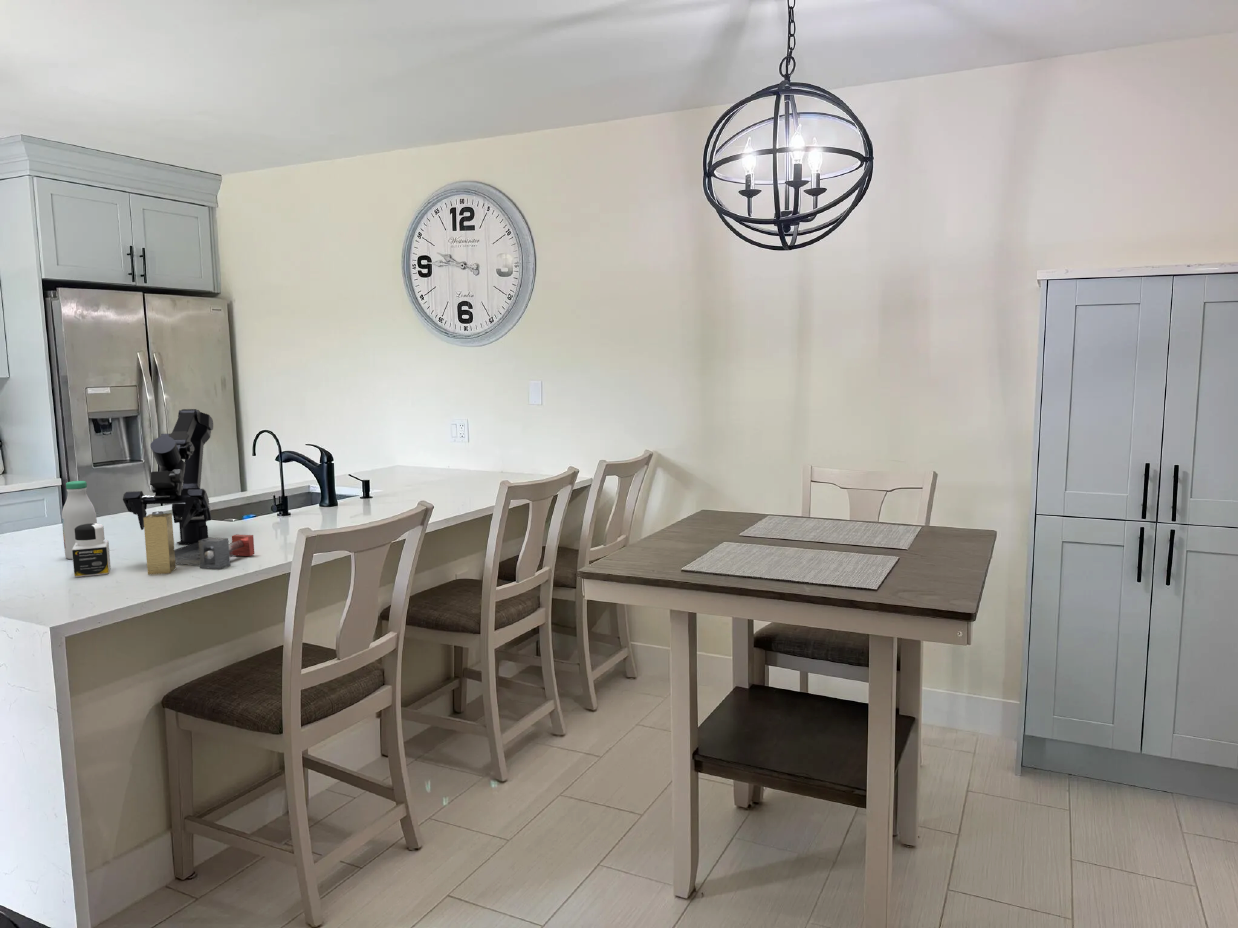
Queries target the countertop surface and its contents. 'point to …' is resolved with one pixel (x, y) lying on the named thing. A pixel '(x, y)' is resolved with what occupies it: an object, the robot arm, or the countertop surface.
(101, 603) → the countertop surface
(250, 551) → the ram handle
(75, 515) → the milk bottle
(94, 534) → the medicine bottle
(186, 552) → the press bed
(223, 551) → the block
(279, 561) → the countertop surface
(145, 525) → the tan wooden block
